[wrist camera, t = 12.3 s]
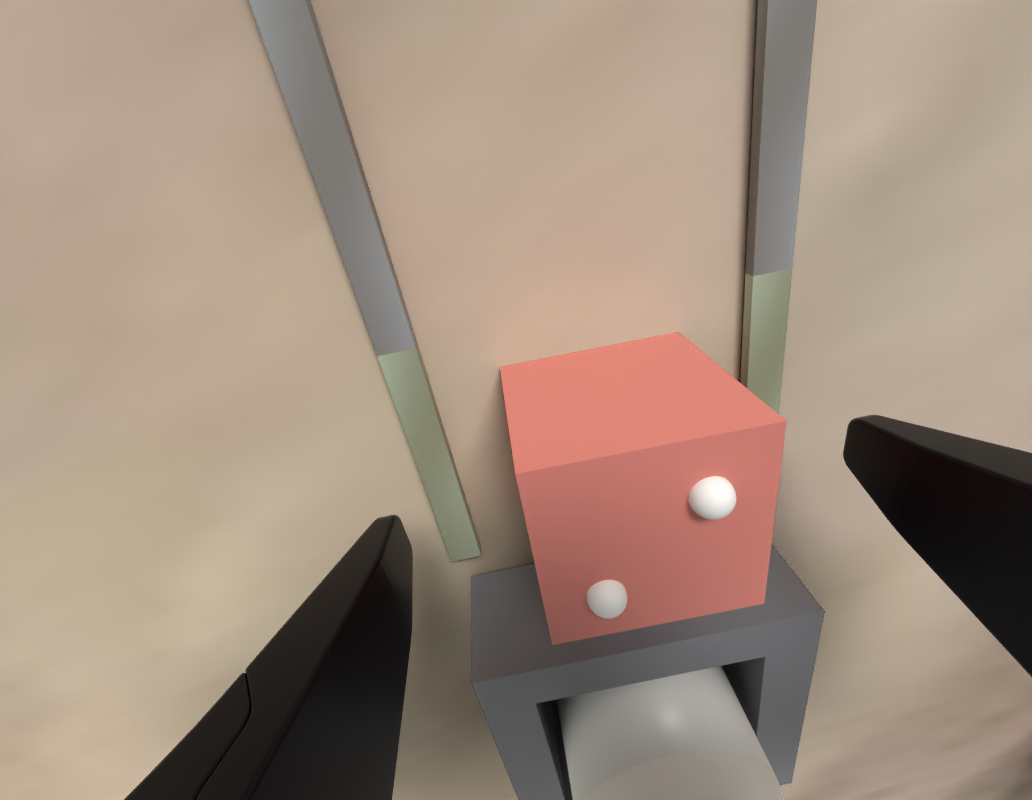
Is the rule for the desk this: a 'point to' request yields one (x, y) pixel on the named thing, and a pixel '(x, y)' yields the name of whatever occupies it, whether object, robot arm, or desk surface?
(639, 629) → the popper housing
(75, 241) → the desk surface
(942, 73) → the desk surface
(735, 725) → the dome
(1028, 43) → the desk surface
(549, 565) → the die
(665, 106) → the desk surface
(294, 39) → the track
